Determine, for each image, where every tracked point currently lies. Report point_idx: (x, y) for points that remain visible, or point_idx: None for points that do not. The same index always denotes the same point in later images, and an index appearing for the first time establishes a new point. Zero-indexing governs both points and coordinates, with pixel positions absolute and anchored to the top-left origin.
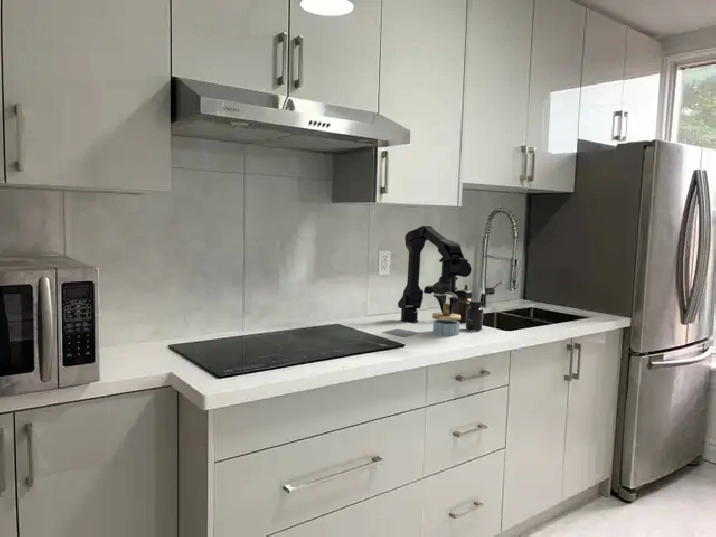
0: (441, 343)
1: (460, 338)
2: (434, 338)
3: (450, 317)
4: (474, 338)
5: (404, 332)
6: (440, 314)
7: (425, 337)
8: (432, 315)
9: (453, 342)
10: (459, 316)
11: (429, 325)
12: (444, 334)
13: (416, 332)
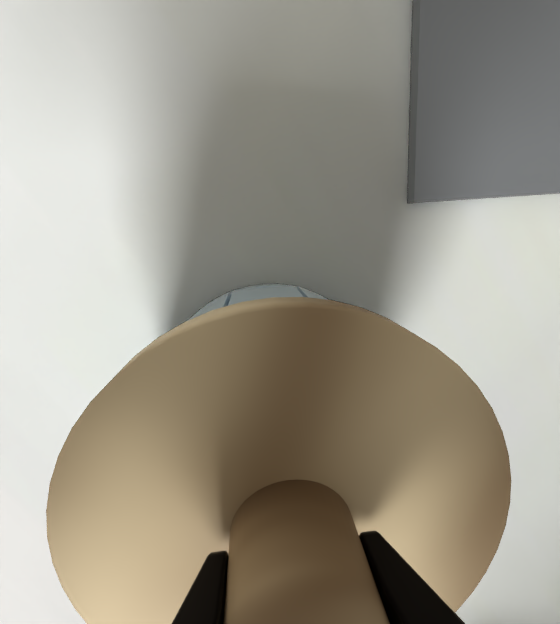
0: (32, 3)
1: (97, 362)
2: (231, 164)
3: (96, 411)
4: (34, 454)
5: (538, 83)
6: (380, 489)
7: (310, 129)
8: (454, 365)
9: (5, 160)
10: (87, 599)
11: (528, 536)
12: (214, 301)
13: (455, 187)
